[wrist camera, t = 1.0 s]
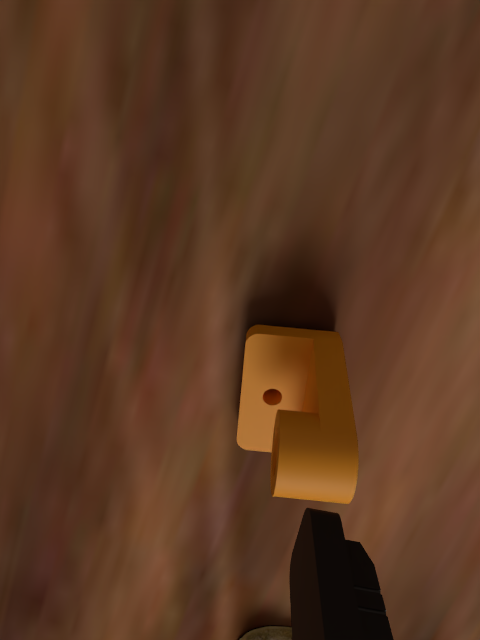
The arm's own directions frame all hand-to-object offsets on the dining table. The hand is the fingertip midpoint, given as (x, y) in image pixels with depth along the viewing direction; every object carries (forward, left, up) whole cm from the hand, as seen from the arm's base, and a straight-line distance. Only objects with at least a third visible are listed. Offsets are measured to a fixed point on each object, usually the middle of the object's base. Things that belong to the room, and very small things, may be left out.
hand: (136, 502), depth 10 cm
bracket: (+4, +11, -24) cm, 26 cm away
